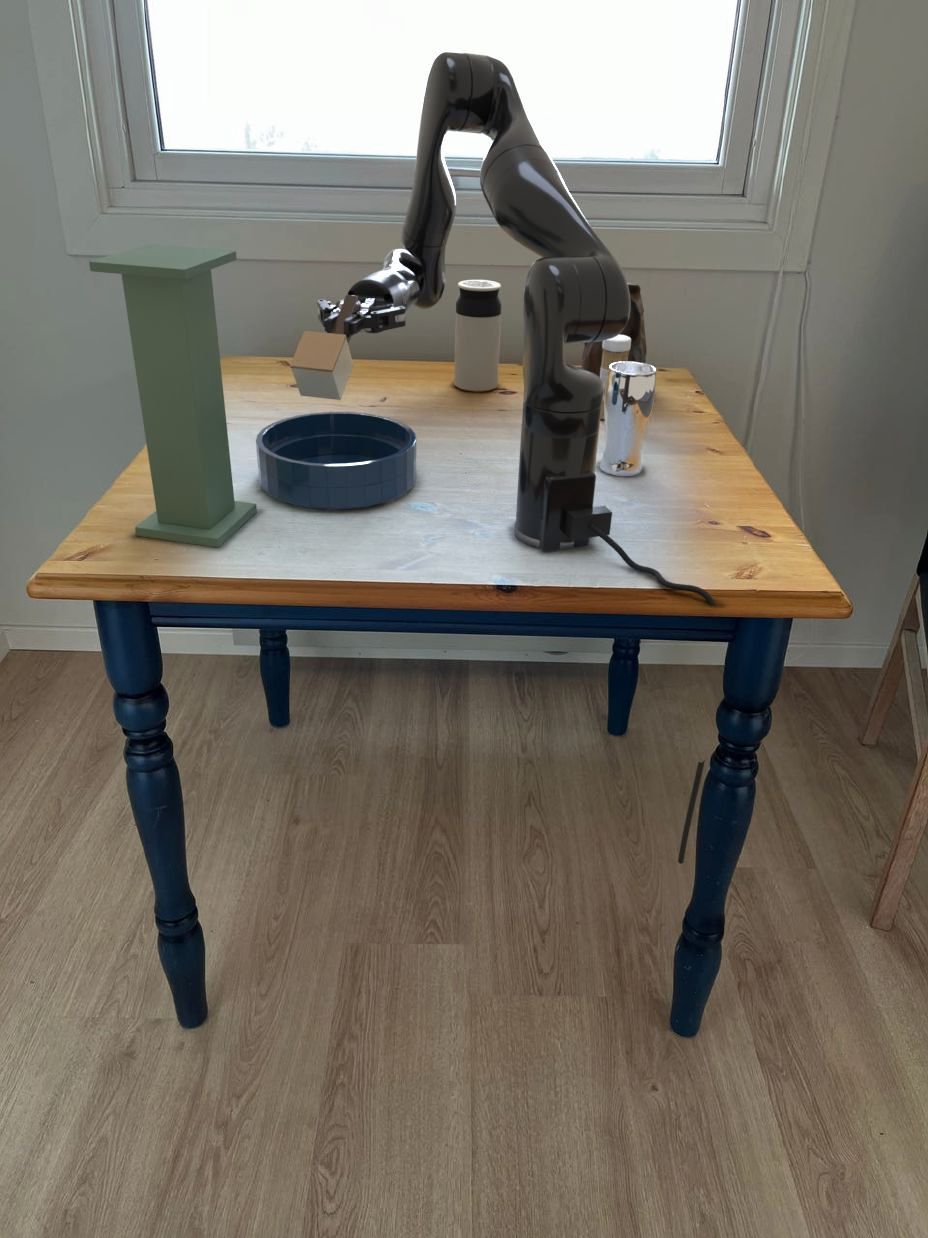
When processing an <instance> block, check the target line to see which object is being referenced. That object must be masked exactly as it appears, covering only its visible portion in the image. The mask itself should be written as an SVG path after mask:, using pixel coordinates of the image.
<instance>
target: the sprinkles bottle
mask: <svg viewBox="0 0 928 1238" xmlns="http://www.w3.org/2000/svg"><path fill="white" fill-rule="evenodd" d="M630 347H631V338H630V337H628V336H625V335H617V336H616V337H614V338H611V339H608V340H604V341H603V344H602V348H603V354H602V363H601V370H600V378H601V380H602V382H603V386H604V389H603V400H602V408H601V418H600V420H603V421H605V419H604V398H605V390H606V383H607V378H608V373H609V366H610V365H611V364H613V363H616V362H628V353H629V350H630Z"/></svg>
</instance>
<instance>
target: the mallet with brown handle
mask: <svg viewBox="0 0 928 1238" xmlns="http://www.w3.org/2000/svg"><path fill="white" fill-rule="evenodd" d="M343 299H344V301H343V304H342V306H341V309H340V311H339V314H338V316H337V319H336V321H335V324H334V326H333V329H332V331H331V333H327V332H320V331H309V330H304V331H303V333H302V335H301V338H300V340H299V342H298V345H297V348H296V350H295V353H294V354H293V356H292V359H291V361H290V364H289V368H290V369H291V372H292V375H293V378H294V381H295V383H296V386H297V389H298V392H299V395H300V396H301V397H309V398H317V399H318V398H319V399H326V400H327V399H328V400H337V401H341V400H342V398H343V396H344V392H345V390H346V387H347V384H348V382H349V380H350V377H351V374H352V371H353V369H354V362H353V358H352V355H351V350H350V347H349V343H350V341H351V339H352V336H351V337H346V335H344V320H345V319H347V318H348V317H350V316H352V315H353V314H356V313H357V312H358V311H359V310H360V306H361V304H360V300H359V296H352V295H347V294H346V295H345V296H344V298H343Z"/></svg>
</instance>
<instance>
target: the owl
mask: <svg viewBox="0 0 928 1238" xmlns="http://www.w3.org/2000/svg"><path fill="white" fill-rule="evenodd" d="M627 284H628V287H629V293H630V302H631V309H630V316H629V320H628V323H627V325H626V327H625V328H624V330H623V331H622V332H621V333H620V334H619V335H625V336H628V337H630V338H631V347H630V350H629V353H628V362H640V363H645V364H647V361H646V359H647V357H646V356H647V353H648V351H647V348H648V347H647V342H646V341H647V339H646V338H647V337H646V331H645V330H646V329H645V317H644V316H645V315H644V312H645V309H644V304H643V297H642V294H641V286H640V285H639V284H634V283H631V282H627ZM583 344H584V345H583V349H582V354H581V367H580V368H582V369H585V370H588V371H590V372H592V373H594V374H596V375H597V376H599V377H600V370H601V363H602V354H603V348H602V344H603V341H599V342H587V343H583Z"/></svg>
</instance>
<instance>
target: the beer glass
mask: <svg viewBox="0 0 928 1238" xmlns="http://www.w3.org/2000/svg"><path fill="white" fill-rule="evenodd" d="M656 381H657V368H656V367H655V366H653V365H651V364H648V363H646V364H645V363H640V362H616V363H613V364H611V365H610V366H609V373H608V378H607V383H606V390H605V398H604V419H605V420H604V431H605V433H604V435H605V444H604V450H603V454H602V456H601V461H600V464H599V467H600V470H601V471H602V472H604V473H606V474H607V475H612V476H616V477H632V476H637V475H639V474H640V473H641V472H642V469H643V465H642V450H643V449H642V448H643V442H644V440H645V435H646V432H647V430H648V426H649V423H650V420H651V417H652V412H653V408H654V402H655V397H656V385H657V384H656Z"/></svg>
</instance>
